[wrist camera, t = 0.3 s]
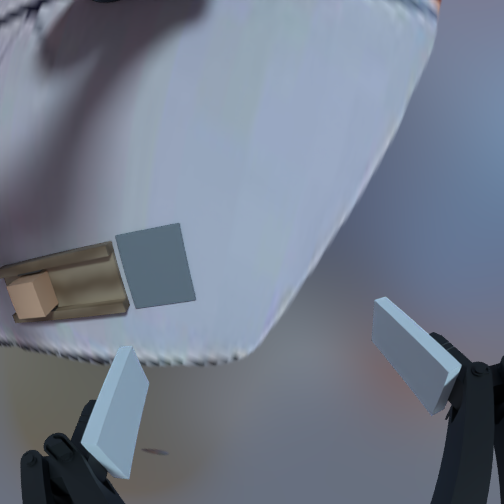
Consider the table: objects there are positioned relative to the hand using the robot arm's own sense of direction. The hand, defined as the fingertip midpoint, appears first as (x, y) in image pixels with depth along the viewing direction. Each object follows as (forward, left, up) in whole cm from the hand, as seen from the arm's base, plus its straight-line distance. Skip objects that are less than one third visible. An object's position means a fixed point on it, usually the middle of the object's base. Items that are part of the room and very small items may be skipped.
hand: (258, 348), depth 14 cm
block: (+4, -35, -27) cm, 44 cm away
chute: (+4, -31, -28) cm, 42 cm away
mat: (+4, -12, -28) cm, 31 cm away
